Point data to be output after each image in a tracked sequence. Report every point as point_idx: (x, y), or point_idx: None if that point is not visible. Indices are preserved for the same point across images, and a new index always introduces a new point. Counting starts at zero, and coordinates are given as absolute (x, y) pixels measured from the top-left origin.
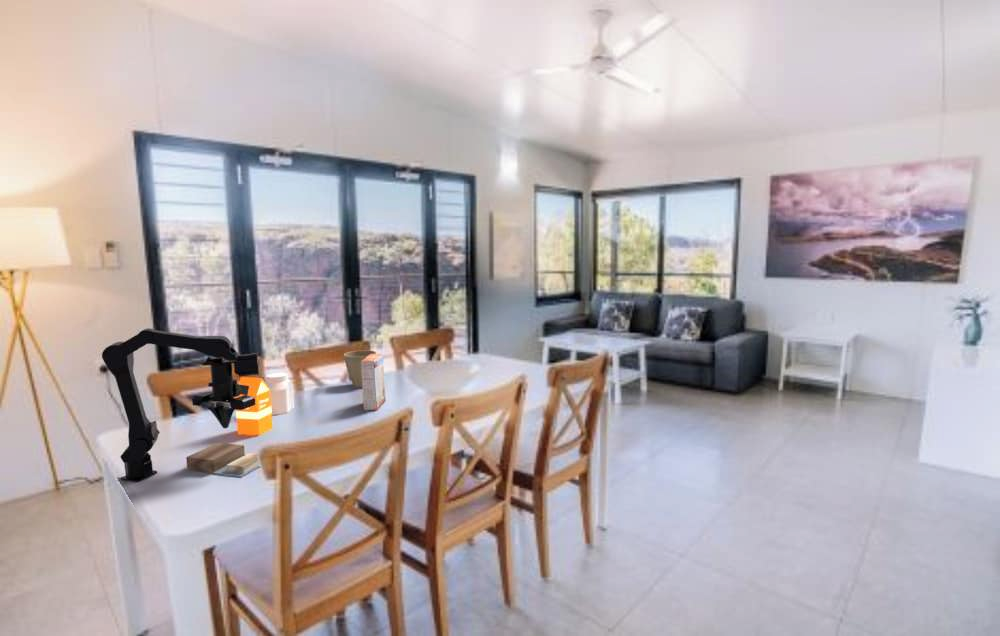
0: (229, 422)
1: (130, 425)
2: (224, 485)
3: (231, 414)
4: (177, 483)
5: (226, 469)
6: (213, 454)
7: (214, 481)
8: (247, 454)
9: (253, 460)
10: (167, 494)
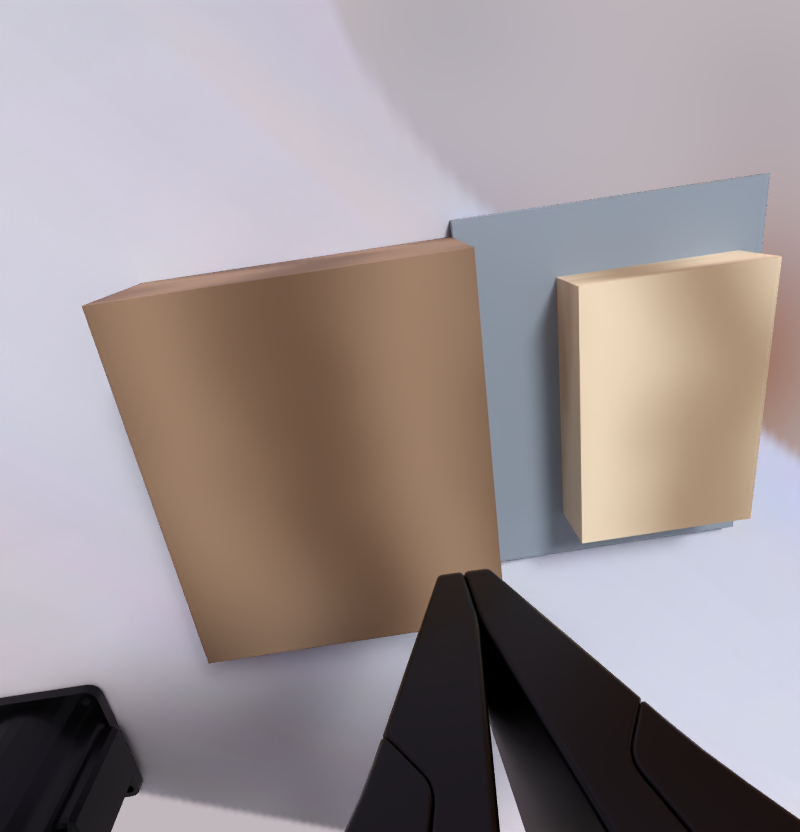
0: (545, 621)
1: None
2: (691, 625)
3: (717, 791)
4: (384, 707)
5: (532, 495)
6: (381, 543)
7: (584, 616)
8: (590, 319)
9: (749, 399)
10: None
